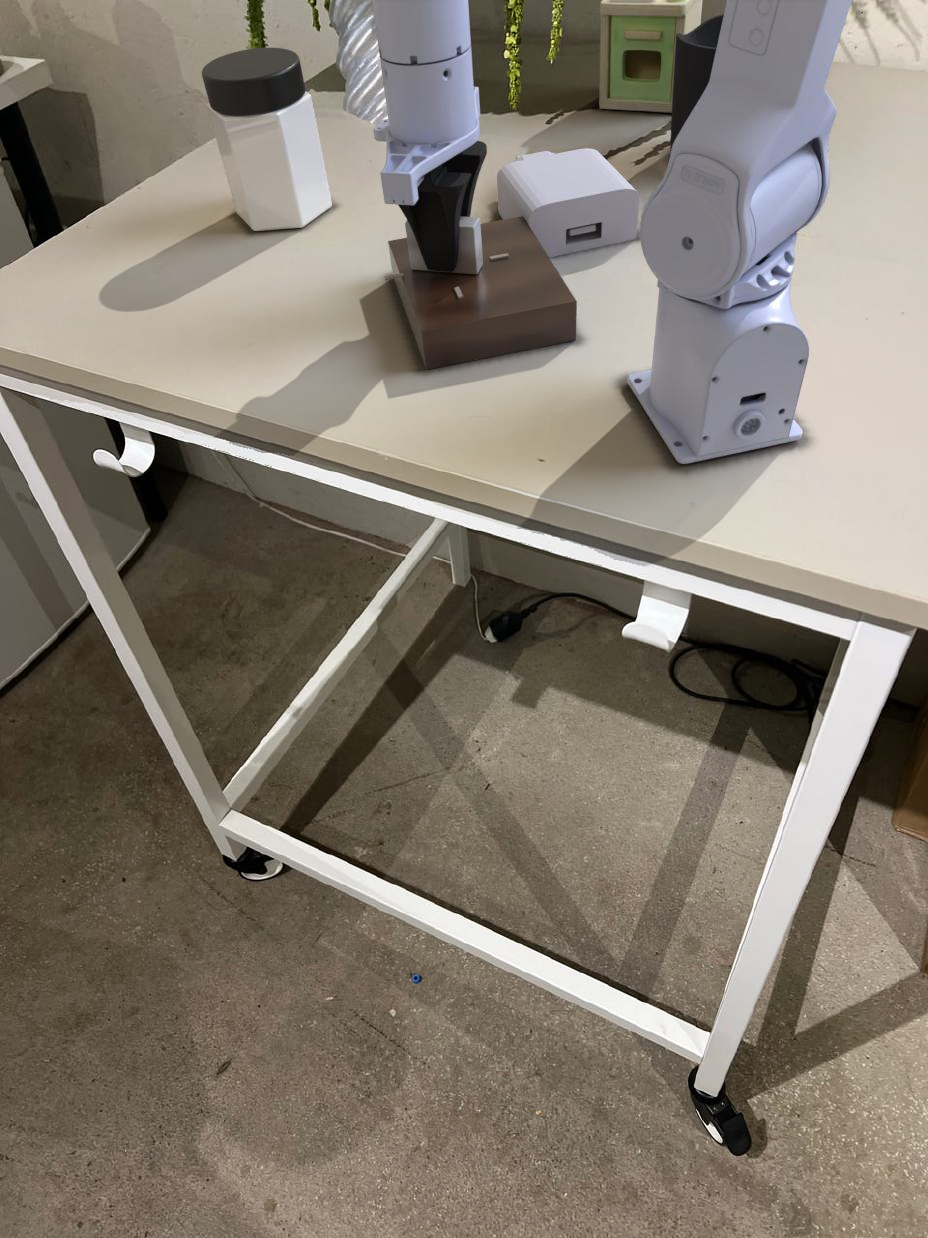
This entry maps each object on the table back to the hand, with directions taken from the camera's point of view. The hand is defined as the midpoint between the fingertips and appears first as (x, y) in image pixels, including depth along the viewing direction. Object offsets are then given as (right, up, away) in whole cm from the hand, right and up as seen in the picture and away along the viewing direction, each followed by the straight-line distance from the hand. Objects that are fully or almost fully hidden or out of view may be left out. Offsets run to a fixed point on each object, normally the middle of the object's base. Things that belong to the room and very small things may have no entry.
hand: (446, 261), depth 64 cm
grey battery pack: (0, 0, 0) cm, 0 cm away
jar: (-15, +11, +16) cm, 25 cm away
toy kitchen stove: (+20, +28, +27) cm, 43 cm away
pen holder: (+25, +16, +16) cm, 34 cm away
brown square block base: (+2, -3, +2) cm, 4 cm away
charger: (+9, +9, +12) cm, 17 cm away
